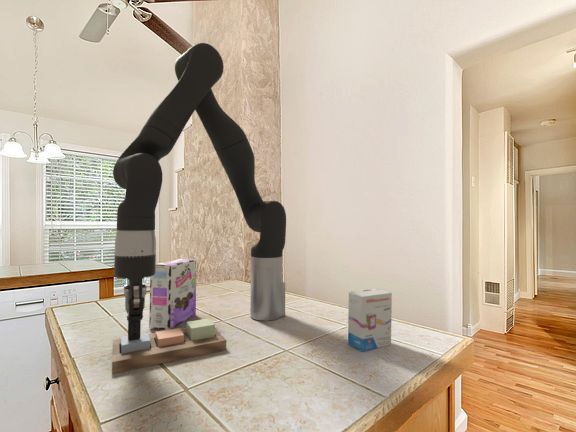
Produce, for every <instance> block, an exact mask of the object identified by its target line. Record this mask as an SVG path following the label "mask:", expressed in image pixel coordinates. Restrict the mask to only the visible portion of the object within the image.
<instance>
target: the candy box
mask: <svg viewBox="0 0 576 432" xmlns="http://www.w3.org/2000/svg"><path fill="white" fill-rule="evenodd" d="M149 279H150V283H149V322H148V325H149V326H148V327H149V329H152V330H160V331H163V330H169V329H175V327H177V326H179V325H180V324H182V323H184V322H185V321H186V322H187V320H189V319H190V318H192V317H194V316H196V315H197V259H192V258H191V259H185V258H178V259H174V260H169V261H165V262H159V263H156V273H155V275H153V276H151V277H149Z"/></svg>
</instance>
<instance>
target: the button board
mask: <svg viewBox="0 0 576 432" xmlns="http://www.w3.org/2000/svg"><path fill="white" fill-rule="evenodd" d="M180 329H181V331H182V332H183V334H184V342H182V343H177V344H171V345H166V346H161V347H157V346H156V343H155V332H153V333H148V335H149V338H150V349H144V350H139V351H133V352H128V353H122V354H121V338H116V339H112V348H111V349H112V351H111V352H112V355H111V357H112V358H111V374H116V373H120V372H121V373H122V372H125V371H130V370H136V369H139V368H145V367H149V366H155V365H159V364H163V363H168V362H169V363H170V362H173V361H180V360H183V359H189V358H194V357H197V356H202V355H203V356H204V355H207V354H211V353H216V352H217V353H218V352H221V351H226V350H227V339H226V338H225V337H224V336H223V335H222V333H220V332H219V330H218V329H216V328H215V337H210V338H204V339H199V340H193V341H190V340H189V338H188V337H187V327H184V328H180Z"/></svg>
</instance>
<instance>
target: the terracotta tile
mask: <svg viewBox="0 0 576 432" xmlns="http://www.w3.org/2000/svg"><path fill="white" fill-rule="evenodd" d="M181 329H182V328H180V327H177V328H172V329H169V330H159V331H155V332H154V333H155V343H156V346H157V347H161V346H166V345H171V344H177V343H182V342H184V334H183V332H182V331H181Z"/></svg>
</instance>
